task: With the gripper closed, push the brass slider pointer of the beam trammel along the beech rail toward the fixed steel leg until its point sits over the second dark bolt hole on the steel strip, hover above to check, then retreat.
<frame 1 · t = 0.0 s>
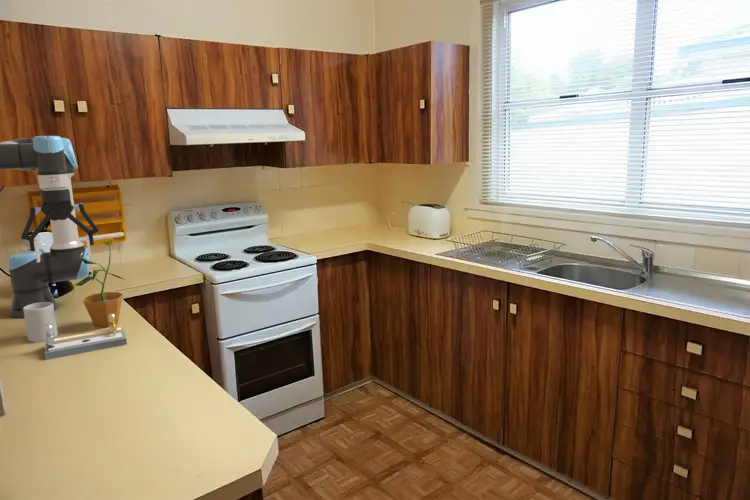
hand: (64, 258, 164), 28 cm above the worktop, fingers open, 13 cm apart
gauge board: (86, 345, 169), on the worktop
mug: (44, 336, 179), on the worktop
fixed leg: (49, 334, 164), on the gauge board, point 5 cm above the worktop
potted plant: (105, 325, 189), on the worktop
brass slider pointer: (112, 323, 172), point 6 cm above the worktop, slide at 8.0 cm
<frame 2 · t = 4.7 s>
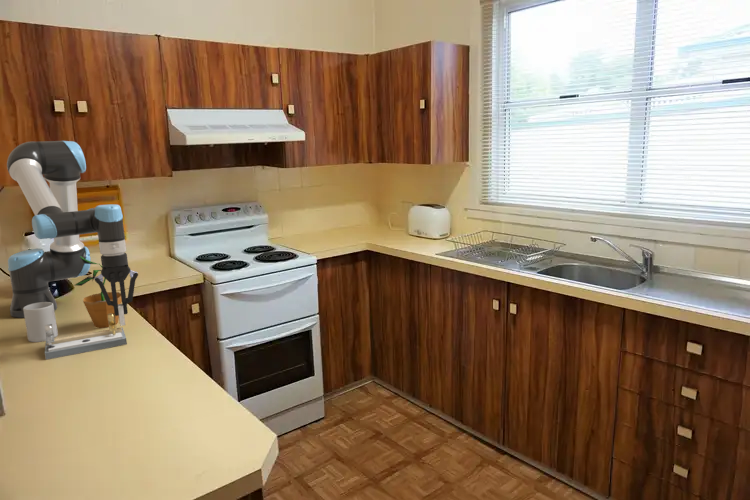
hand: (122, 324, 175), 4 cm above the worktop, fingers closed
brass slider pointer: (112, 323, 172), point 6 cm above the worktop, slide at 7.9 cm, touching gripper
everything else where it was.
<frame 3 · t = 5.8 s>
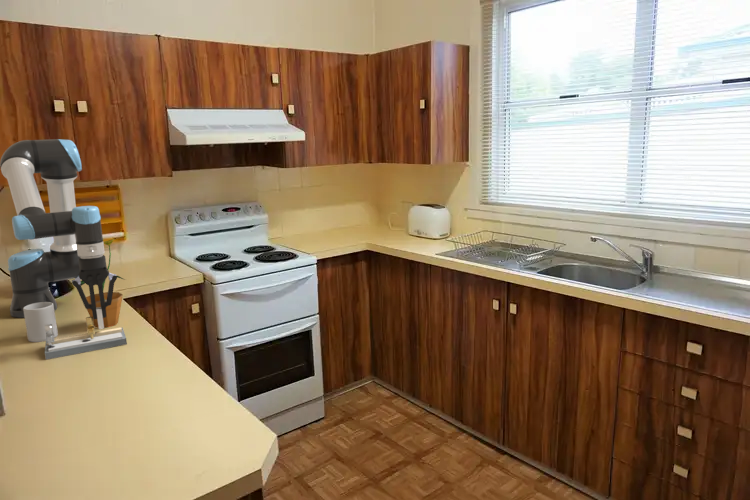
hand: (101, 327, 172), 4 cm above the worktop, fingers closed
brass slider pointer: (90, 327, 169), point 6 cm above the worktop, slide at 1.7 cm, touching gripper
everything else where it was.
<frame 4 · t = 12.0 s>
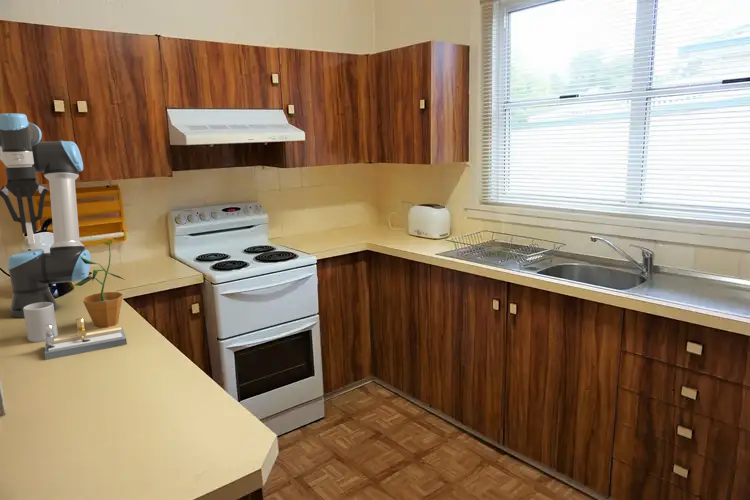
hand: (31, 243, 167), 32 cm above the worktop, fingers closed
brass slider pointer: (81, 328, 168), point 6 cm above the worktop, slide at -0.9 cm
everything else where it was.
at the end: brass slider pointer slide at -0.9 cm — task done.
